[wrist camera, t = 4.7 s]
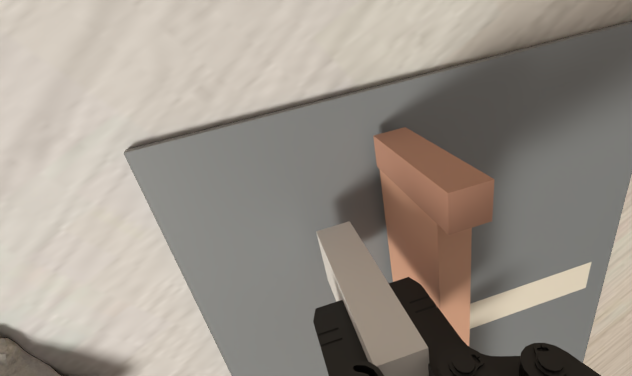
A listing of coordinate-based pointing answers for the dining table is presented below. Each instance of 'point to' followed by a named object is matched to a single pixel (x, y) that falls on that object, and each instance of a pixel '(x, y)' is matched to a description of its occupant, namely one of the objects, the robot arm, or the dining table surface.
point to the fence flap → (432, 218)
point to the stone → (21, 361)
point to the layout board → (368, 208)
